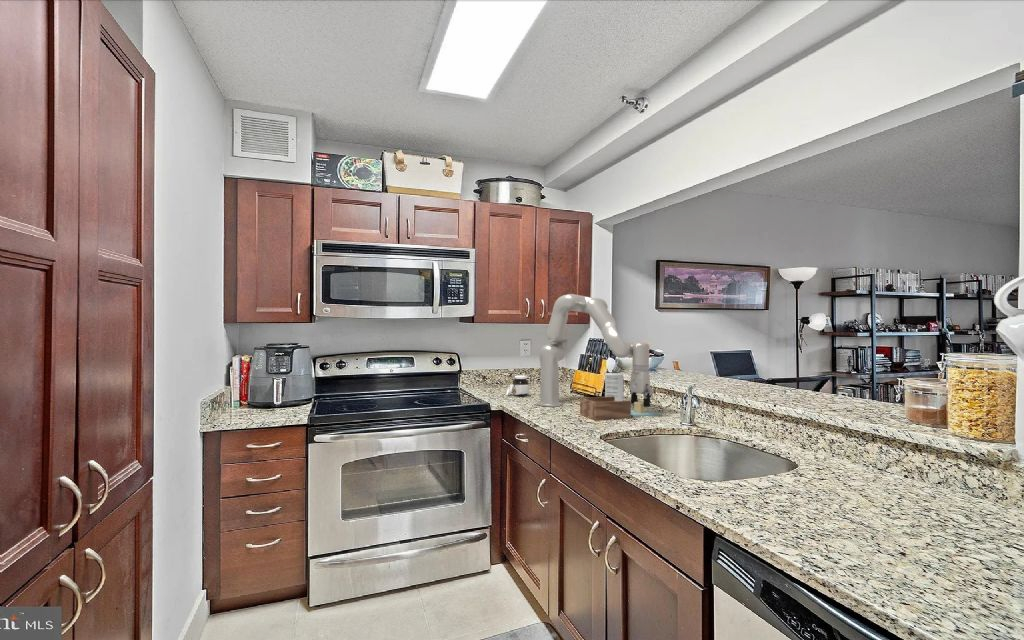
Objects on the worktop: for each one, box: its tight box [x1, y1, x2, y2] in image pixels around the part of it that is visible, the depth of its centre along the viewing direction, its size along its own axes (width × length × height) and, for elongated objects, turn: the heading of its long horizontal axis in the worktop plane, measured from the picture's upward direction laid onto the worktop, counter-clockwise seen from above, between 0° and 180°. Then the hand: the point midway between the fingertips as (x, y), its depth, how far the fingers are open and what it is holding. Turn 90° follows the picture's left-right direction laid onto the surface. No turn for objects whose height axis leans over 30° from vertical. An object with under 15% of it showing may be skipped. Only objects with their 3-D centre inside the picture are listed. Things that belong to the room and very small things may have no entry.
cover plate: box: [631, 401, 662, 418], centre depth 225 cm, size 11×16×6 cm
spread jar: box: [506, 374, 530, 398], centre depth 278 cm, size 12×11×12 cm
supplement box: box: [604, 372, 625, 401], centre depth 245 cm, size 10×9×17 cm
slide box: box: [579, 396, 632, 422], centre depth 218 cm, size 14×18×8 cm
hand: (640, 405), depth 225 cm, fingers open, 9 cm apart
